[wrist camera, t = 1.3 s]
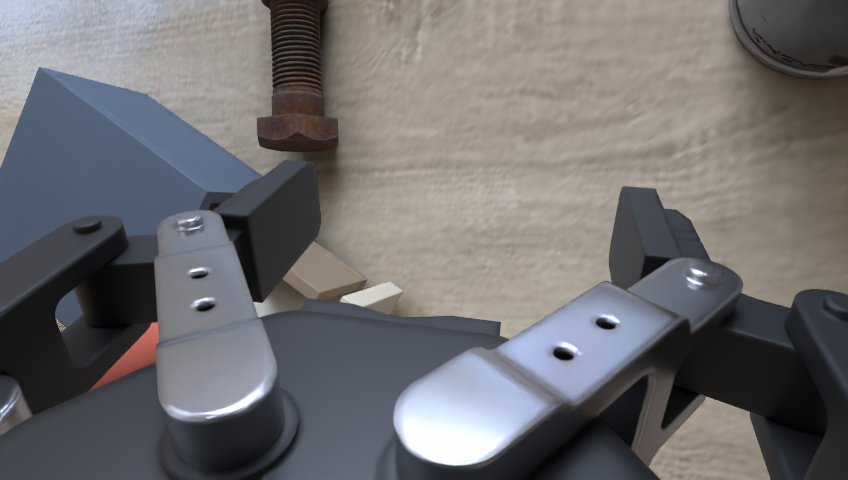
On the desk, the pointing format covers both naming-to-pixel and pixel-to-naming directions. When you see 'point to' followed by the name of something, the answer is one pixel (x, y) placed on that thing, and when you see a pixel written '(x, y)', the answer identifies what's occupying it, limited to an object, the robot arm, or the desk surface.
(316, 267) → the drawer
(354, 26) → the desk surface
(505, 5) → the desk surface
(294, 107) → the bolt
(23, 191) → the cabinet
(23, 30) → the desk surface
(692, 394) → the robot arm
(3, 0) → the desk surface
